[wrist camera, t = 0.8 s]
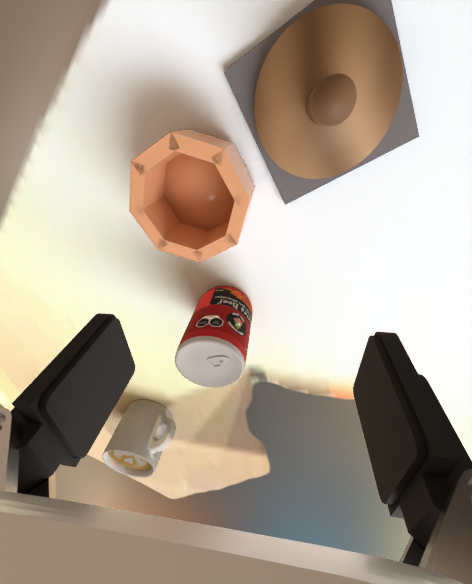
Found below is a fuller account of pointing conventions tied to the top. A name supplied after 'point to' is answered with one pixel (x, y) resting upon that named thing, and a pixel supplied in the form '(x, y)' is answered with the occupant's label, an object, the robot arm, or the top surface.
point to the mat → (245, 82)
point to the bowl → (191, 194)
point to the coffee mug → (140, 439)
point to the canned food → (216, 339)
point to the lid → (328, 91)
